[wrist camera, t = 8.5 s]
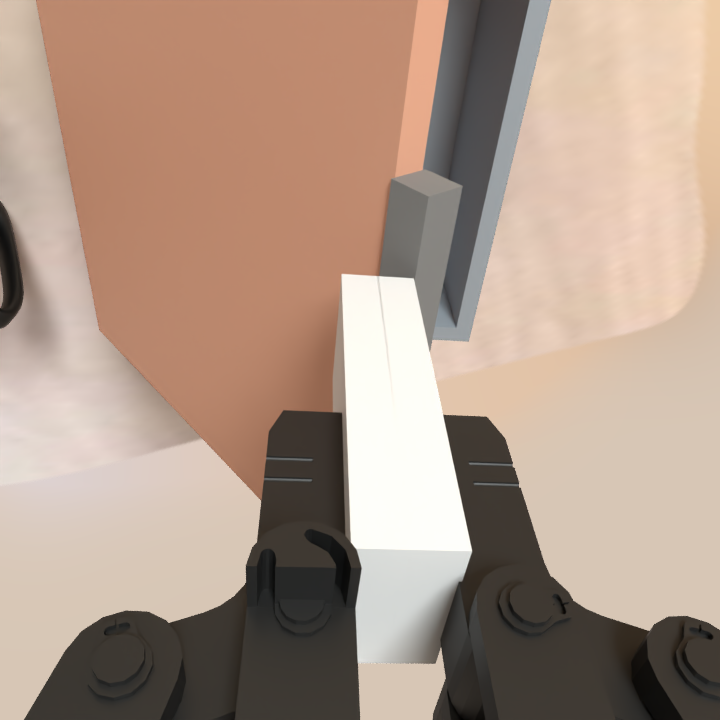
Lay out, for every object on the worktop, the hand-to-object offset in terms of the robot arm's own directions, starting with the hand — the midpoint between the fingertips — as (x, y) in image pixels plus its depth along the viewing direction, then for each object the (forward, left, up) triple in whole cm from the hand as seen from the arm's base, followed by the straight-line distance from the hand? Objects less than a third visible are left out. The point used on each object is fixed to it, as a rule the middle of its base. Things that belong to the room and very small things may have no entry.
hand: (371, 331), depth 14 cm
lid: (-5, 0, -8) cm, 9 cm away
